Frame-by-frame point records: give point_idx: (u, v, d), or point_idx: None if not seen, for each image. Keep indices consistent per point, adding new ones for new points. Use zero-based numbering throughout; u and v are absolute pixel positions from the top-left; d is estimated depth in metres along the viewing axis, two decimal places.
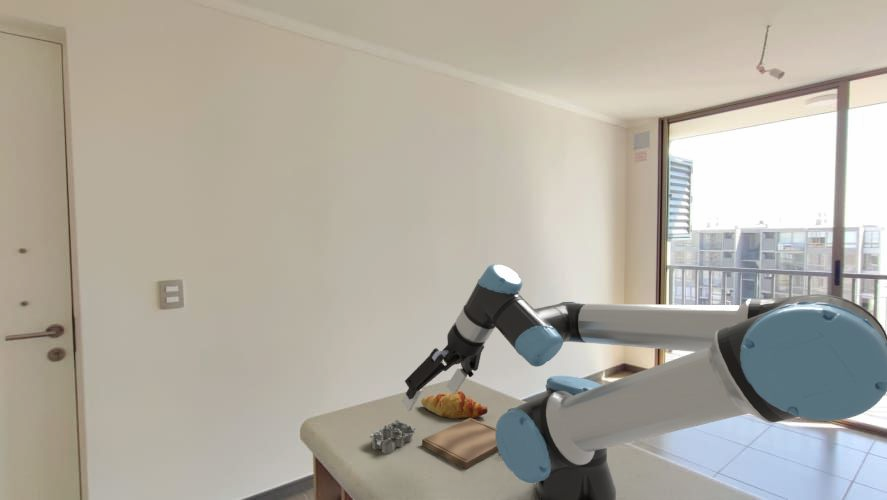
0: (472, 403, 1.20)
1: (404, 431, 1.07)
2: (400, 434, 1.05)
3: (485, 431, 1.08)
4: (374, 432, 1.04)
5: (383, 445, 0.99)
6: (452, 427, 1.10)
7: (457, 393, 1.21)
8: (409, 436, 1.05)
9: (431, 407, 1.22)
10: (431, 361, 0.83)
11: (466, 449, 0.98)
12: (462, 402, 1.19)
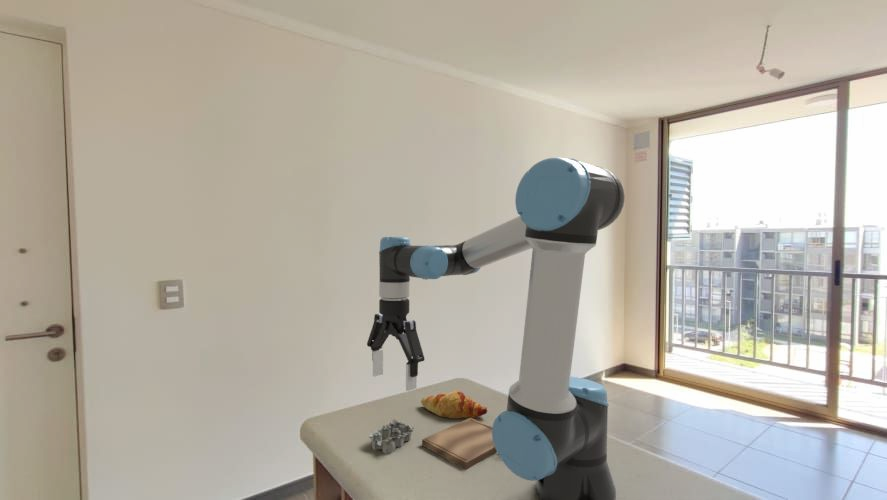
0: (472, 403, 1.20)
1: (402, 431, 1.08)
2: (399, 434, 1.05)
3: (485, 431, 1.08)
4: (373, 433, 1.04)
5: (384, 445, 0.99)
6: (452, 427, 1.10)
7: (457, 393, 1.21)
8: (408, 435, 1.05)
9: (431, 407, 1.22)
10: None
11: (466, 449, 0.98)
12: (461, 403, 1.19)
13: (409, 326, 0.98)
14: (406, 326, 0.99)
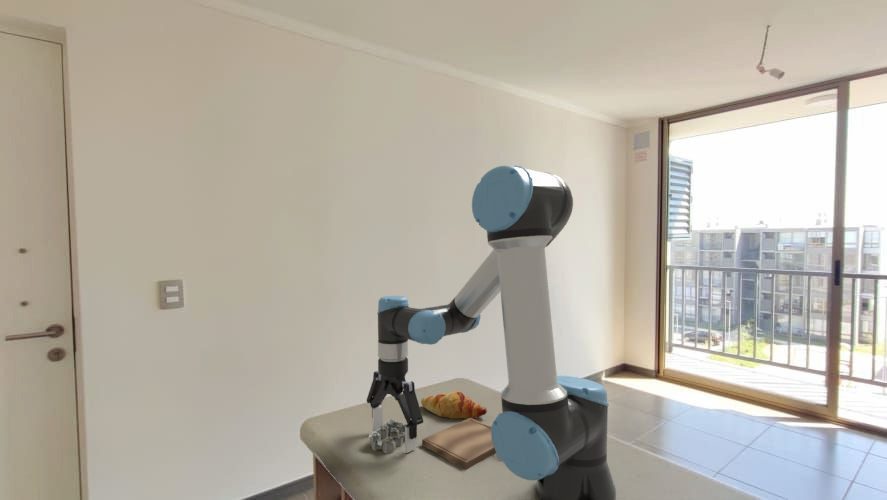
0: (471, 404, 1.20)
1: (400, 430, 1.08)
2: (398, 433, 1.06)
3: (485, 431, 1.08)
4: (372, 433, 1.04)
5: (384, 445, 0.99)
6: (452, 427, 1.10)
7: (456, 393, 1.21)
8: None
9: (430, 407, 1.22)
10: None
11: (466, 449, 0.98)
12: (461, 403, 1.19)
13: (408, 388, 0.99)
14: (405, 388, 0.99)
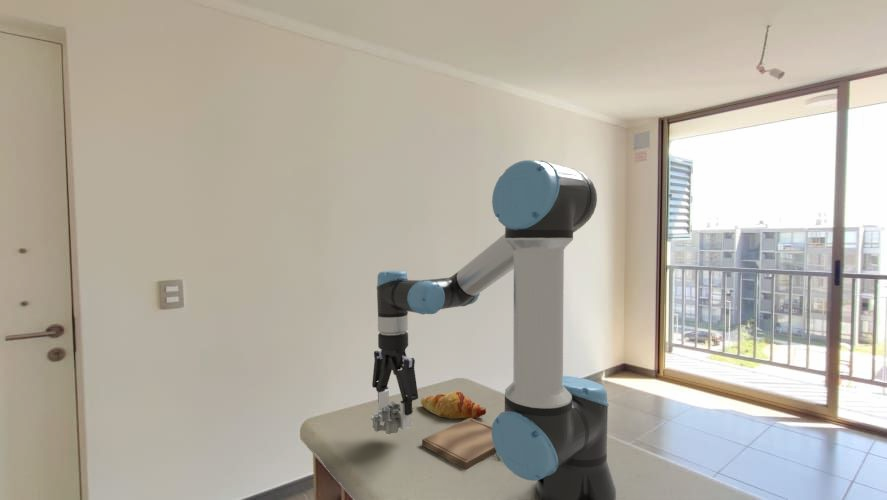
0: (471, 404, 1.19)
1: None
2: (399, 414, 1.05)
3: (485, 431, 1.08)
4: (374, 414, 1.02)
5: (387, 425, 0.98)
6: (452, 427, 1.10)
7: (456, 394, 1.21)
8: None
9: (430, 407, 1.22)
10: None
11: (466, 449, 0.98)
12: (460, 403, 1.18)
13: (408, 365, 0.99)
14: (405, 364, 0.99)
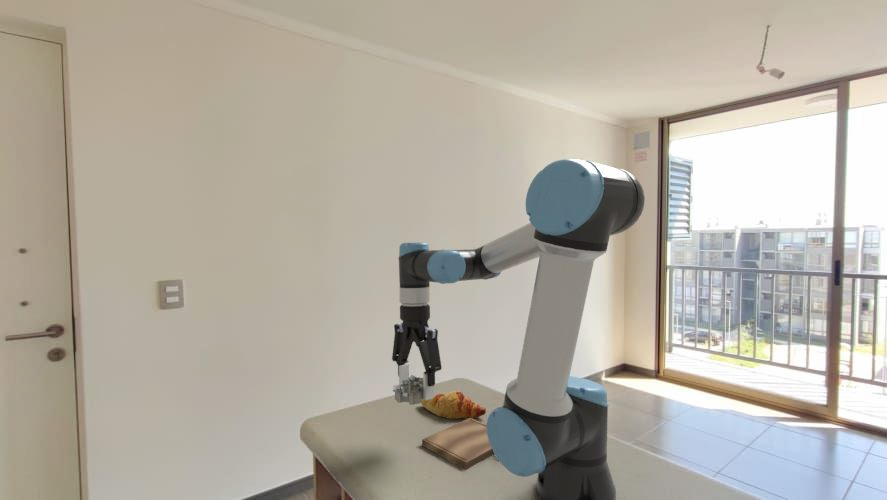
0: (470, 404, 1.19)
1: (422, 385, 1.06)
2: (421, 386, 1.04)
3: (485, 431, 1.08)
4: (395, 386, 1.02)
5: (410, 396, 0.98)
6: (452, 427, 1.10)
7: (456, 393, 1.21)
8: None
9: (430, 407, 1.22)
10: None
11: (466, 449, 0.98)
12: (460, 403, 1.18)
13: (431, 335, 0.98)
14: (428, 335, 0.99)
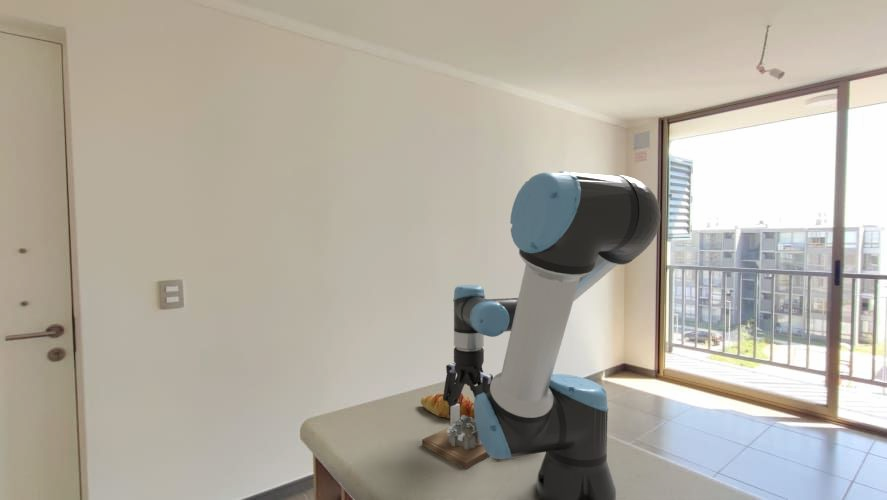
0: (469, 404, 1.19)
1: (474, 426, 1.07)
2: (473, 428, 1.04)
3: None
4: (449, 429, 1.02)
5: (466, 440, 0.98)
6: None
7: None
8: None
9: (429, 407, 1.22)
10: None
11: (466, 449, 0.98)
12: (459, 403, 1.18)
13: (487, 381, 0.98)
14: (484, 381, 0.99)
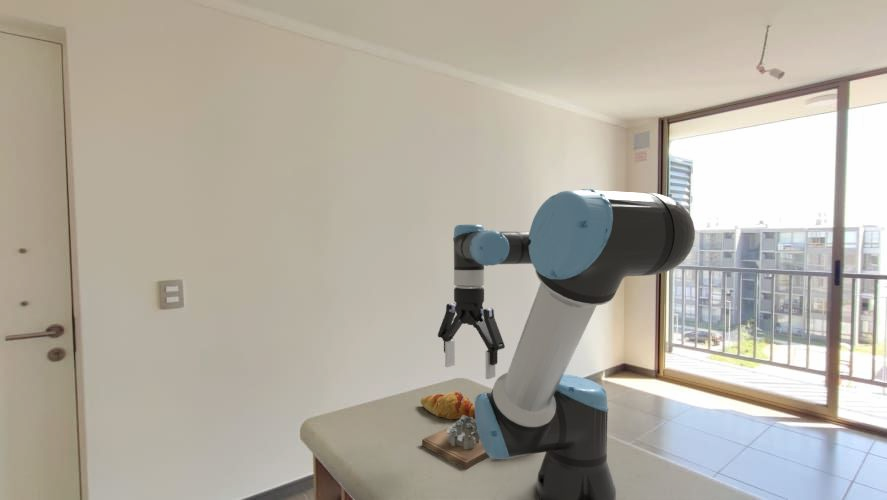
0: (469, 405, 1.19)
1: (474, 426, 1.07)
2: (473, 429, 1.04)
3: None
4: (449, 429, 1.02)
5: (465, 440, 0.98)
6: None
7: (454, 394, 1.21)
8: None
9: (428, 407, 1.22)
10: None
11: None
12: (458, 404, 1.18)
13: (488, 313, 0.98)
14: (485, 313, 0.98)
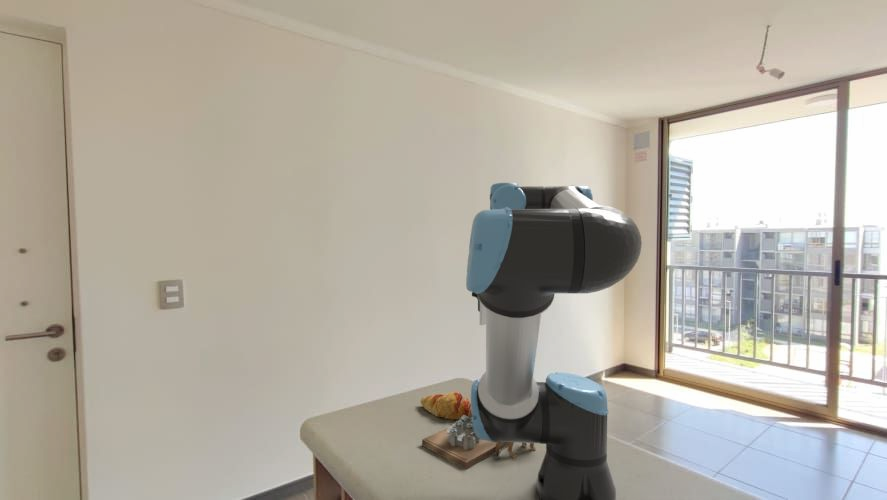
0: (468, 405, 1.18)
1: None
2: None
3: None
4: (449, 429, 1.02)
5: (465, 440, 0.98)
6: None
7: (454, 394, 1.21)
8: None
9: (428, 407, 1.22)
10: None
11: None
12: (457, 404, 1.18)
13: None
14: None
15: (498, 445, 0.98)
